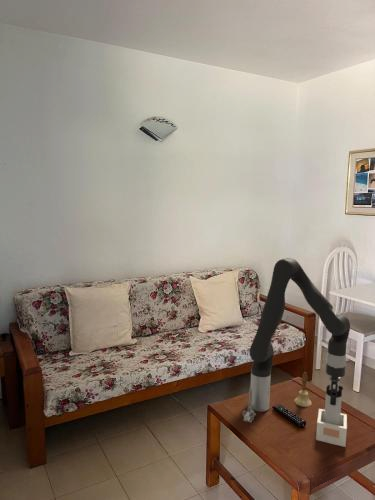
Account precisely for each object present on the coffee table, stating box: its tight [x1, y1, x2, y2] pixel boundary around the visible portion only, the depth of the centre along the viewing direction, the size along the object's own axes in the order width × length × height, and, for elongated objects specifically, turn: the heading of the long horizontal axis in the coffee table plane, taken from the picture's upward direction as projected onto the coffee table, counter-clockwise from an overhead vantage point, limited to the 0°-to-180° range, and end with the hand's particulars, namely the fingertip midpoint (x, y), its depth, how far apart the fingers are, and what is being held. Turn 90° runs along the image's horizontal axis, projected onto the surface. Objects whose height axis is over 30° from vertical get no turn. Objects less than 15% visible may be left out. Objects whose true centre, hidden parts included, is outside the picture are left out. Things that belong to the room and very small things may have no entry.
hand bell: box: [293, 371, 313, 408], centre depth 187 cm, size 8×8×16 cm
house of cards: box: [242, 402, 257, 424], centre depth 176 cm, size 9×9×8 cm
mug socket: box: [315, 408, 348, 448], centre depth 161 cm, size 11×12×8 cm
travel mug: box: [324, 384, 344, 426], centre depth 160 cm, size 6×7×20 cm
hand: (333, 400), depth 160 cm, fingers closed on travel mug, 6 cm apart
